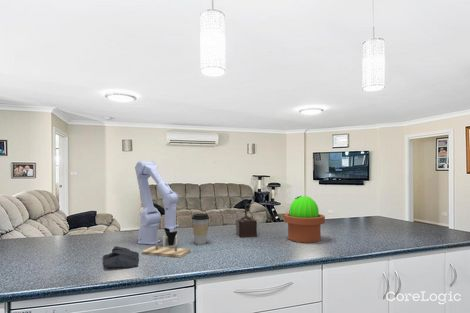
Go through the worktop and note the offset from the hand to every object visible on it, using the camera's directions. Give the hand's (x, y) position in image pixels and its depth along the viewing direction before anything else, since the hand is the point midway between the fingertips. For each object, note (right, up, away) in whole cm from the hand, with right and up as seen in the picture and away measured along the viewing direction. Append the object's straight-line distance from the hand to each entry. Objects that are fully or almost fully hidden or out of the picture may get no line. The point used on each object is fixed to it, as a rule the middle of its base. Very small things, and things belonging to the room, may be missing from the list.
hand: (170, 243), depth 148 cm
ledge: (+1, -1, -12) cm, 12 cm away
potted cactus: (+72, -3, +15) cm, 74 cm away
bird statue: (+40, -3, +28) cm, 48 cm away
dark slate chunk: (-16, -1, -25) cm, 29 cm away
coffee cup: (+15, -2, +7) cm, 16 cm away
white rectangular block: (0, -2, 0) cm, 2 cm away
